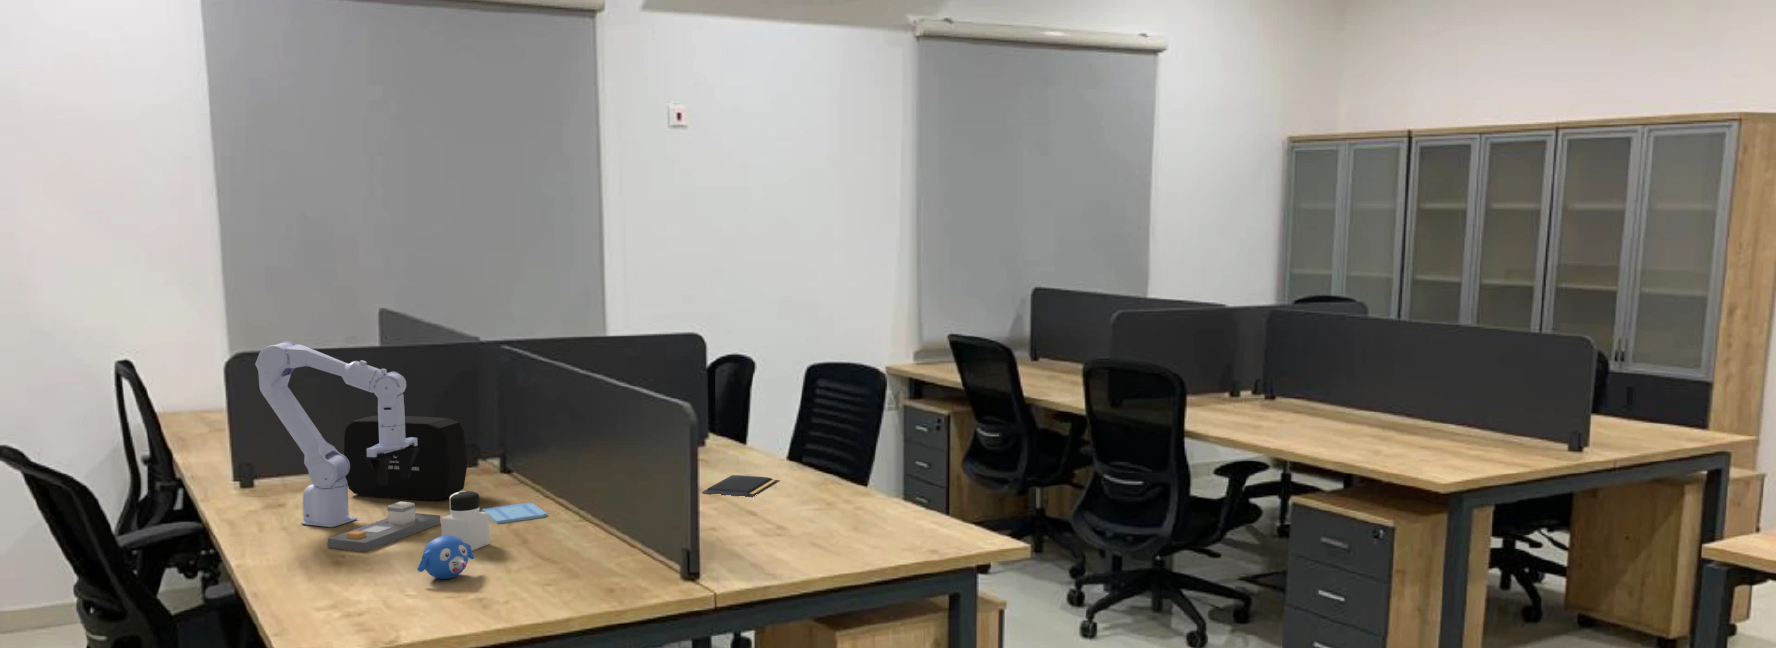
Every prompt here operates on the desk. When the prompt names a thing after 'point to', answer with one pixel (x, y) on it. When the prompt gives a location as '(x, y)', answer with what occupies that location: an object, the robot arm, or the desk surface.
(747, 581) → the desk surface
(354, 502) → the desk surface
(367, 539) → the grey slab
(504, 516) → the light blue flat rectangle
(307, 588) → the desk surface
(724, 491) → the black notebook
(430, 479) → the black hard case
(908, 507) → the desk surface
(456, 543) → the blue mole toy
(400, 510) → the block
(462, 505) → the medicine bottle
